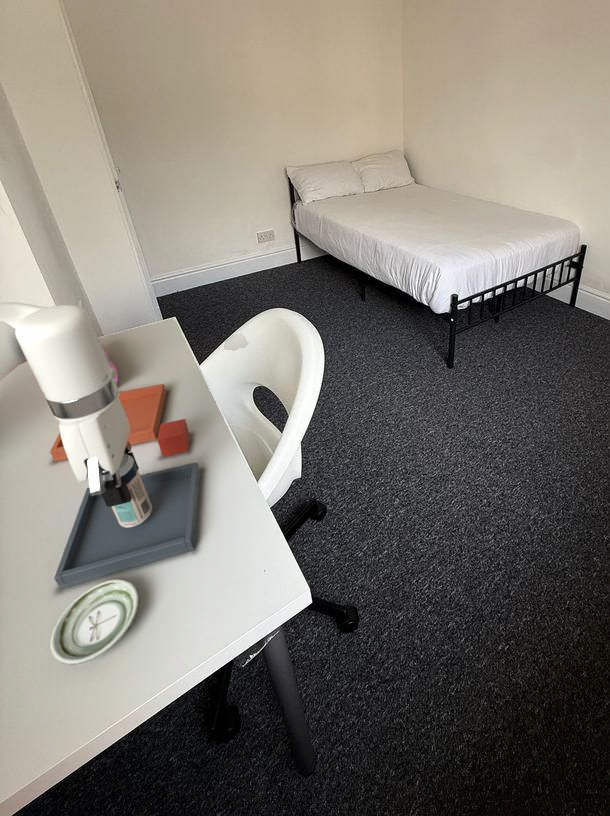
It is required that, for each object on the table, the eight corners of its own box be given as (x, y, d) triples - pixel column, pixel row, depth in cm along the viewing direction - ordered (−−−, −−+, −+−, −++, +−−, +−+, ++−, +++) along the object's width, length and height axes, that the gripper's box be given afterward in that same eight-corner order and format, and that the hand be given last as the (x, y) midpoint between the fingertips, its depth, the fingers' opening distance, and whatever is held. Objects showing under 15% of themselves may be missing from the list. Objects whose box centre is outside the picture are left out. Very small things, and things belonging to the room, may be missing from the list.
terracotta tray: (54, 461, 79) (49, 451, 78) (80, 408, 92) (76, 399, 91) (156, 439, 84) (152, 430, 83) (166, 392, 97) (163, 383, 96)
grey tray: (60, 589, 59) (53, 578, 58) (91, 498, 72) (86, 487, 71) (194, 550, 64) (190, 539, 62) (200, 471, 77) (197, 461, 76)
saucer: (153, 627, 54) (148, 617, 53) (65, 694, 48) (58, 684, 47) (130, 573, 61) (125, 563, 59) (50, 627, 55) (43, 617, 54)
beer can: (148, 497, 70) (128, 445, 64) (156, 517, 67) (135, 464, 61) (116, 514, 67) (92, 461, 62) (122, 535, 64) (97, 481, 58)
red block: (163, 457, 80) (157, 440, 78) (166, 440, 84) (160, 423, 82) (188, 451, 81) (183, 434, 79) (190, 435, 85) (185, 418, 83)
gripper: (72, 364, 62) (110, 453, 70) (24, 447, 47) (79, 546, 56) (128, 355, 64) (159, 442, 72) (99, 432, 49) (141, 529, 58)
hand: (123, 486), depth 64 cm, fingers closed on beer can, 4 cm apart
